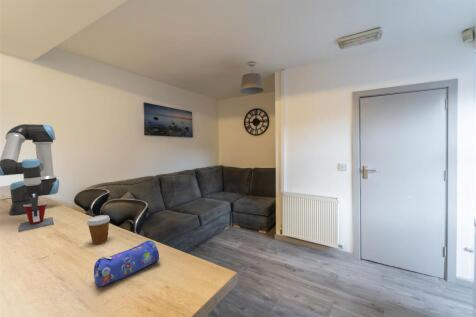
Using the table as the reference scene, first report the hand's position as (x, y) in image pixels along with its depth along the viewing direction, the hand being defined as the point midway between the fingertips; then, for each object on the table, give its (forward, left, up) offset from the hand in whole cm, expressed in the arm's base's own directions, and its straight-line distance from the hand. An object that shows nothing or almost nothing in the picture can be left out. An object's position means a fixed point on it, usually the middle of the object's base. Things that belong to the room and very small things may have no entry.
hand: (36, 218), depth 128 cm
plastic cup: (0, 0, -3) cm, 3 cm away
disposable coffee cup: (+56, +23, -4) cm, 61 cm away
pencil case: (+94, +25, -4) cm, 97 cm away
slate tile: (0, 0, -4) cm, 4 cm away
